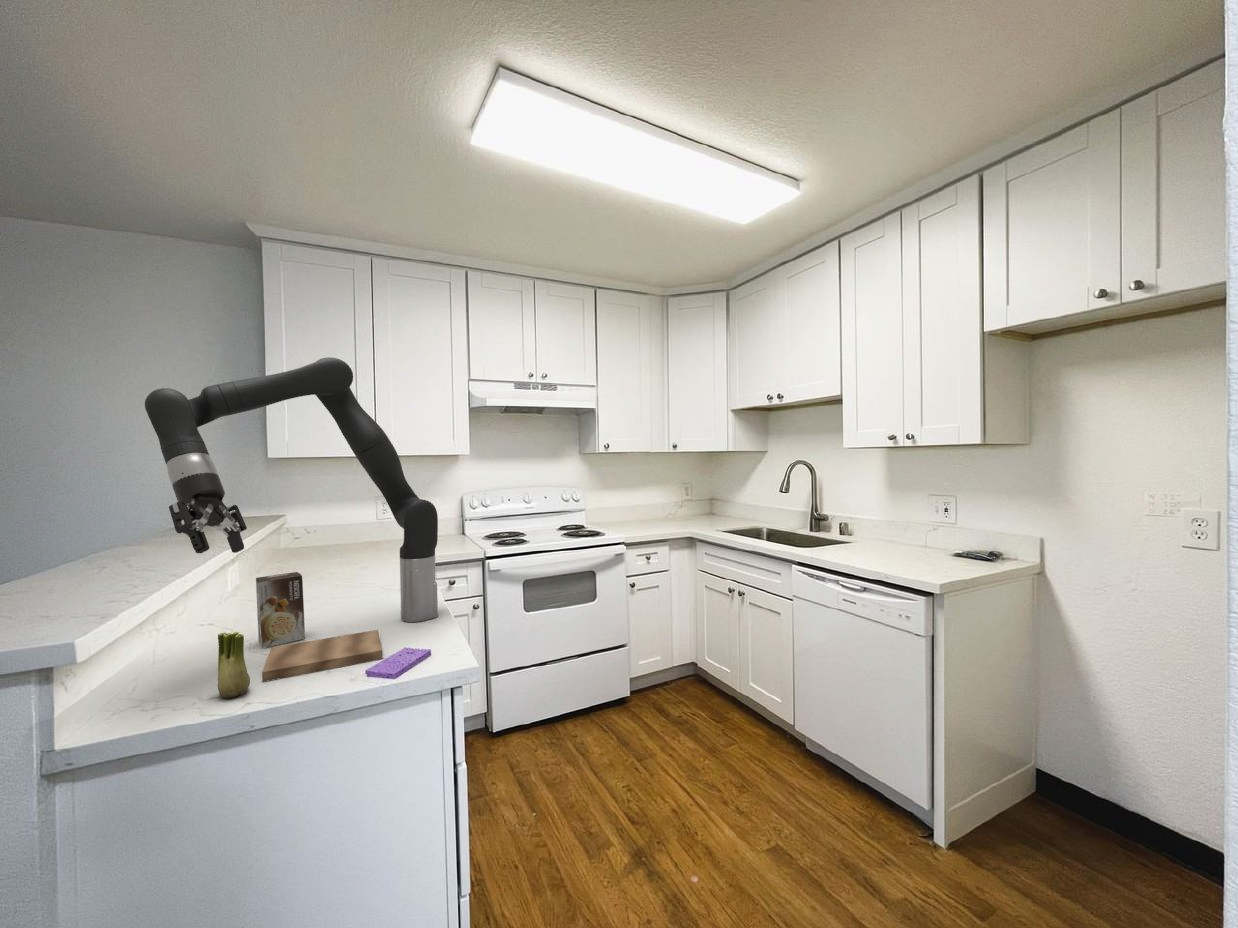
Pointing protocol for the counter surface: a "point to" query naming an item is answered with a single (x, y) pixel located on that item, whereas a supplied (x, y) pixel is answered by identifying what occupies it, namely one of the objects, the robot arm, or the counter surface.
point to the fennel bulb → (232, 665)
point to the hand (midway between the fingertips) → (221, 551)
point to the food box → (280, 609)
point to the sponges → (398, 663)
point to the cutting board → (322, 655)
